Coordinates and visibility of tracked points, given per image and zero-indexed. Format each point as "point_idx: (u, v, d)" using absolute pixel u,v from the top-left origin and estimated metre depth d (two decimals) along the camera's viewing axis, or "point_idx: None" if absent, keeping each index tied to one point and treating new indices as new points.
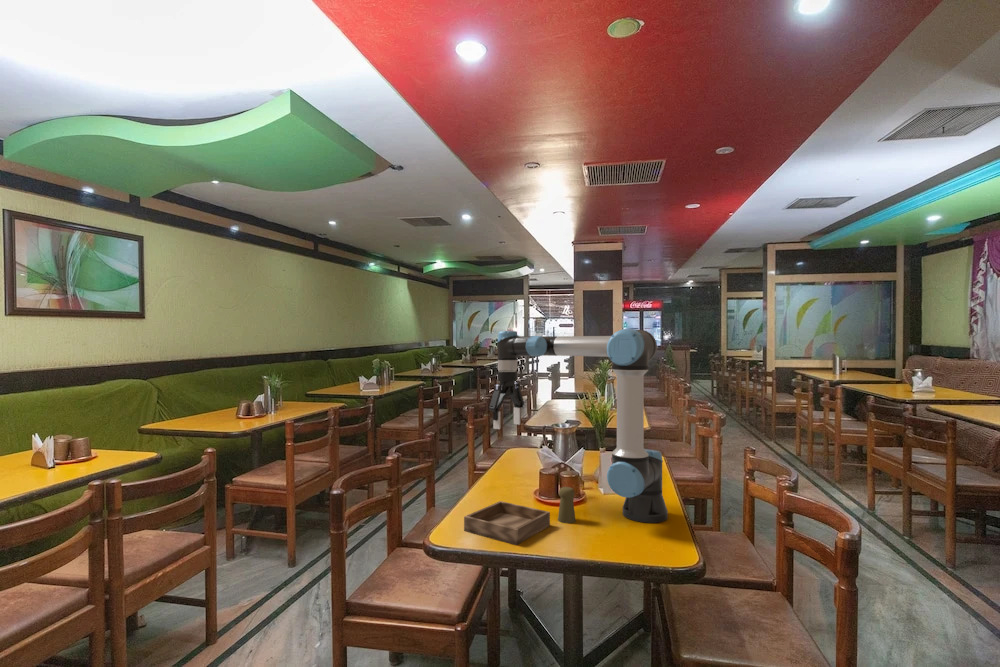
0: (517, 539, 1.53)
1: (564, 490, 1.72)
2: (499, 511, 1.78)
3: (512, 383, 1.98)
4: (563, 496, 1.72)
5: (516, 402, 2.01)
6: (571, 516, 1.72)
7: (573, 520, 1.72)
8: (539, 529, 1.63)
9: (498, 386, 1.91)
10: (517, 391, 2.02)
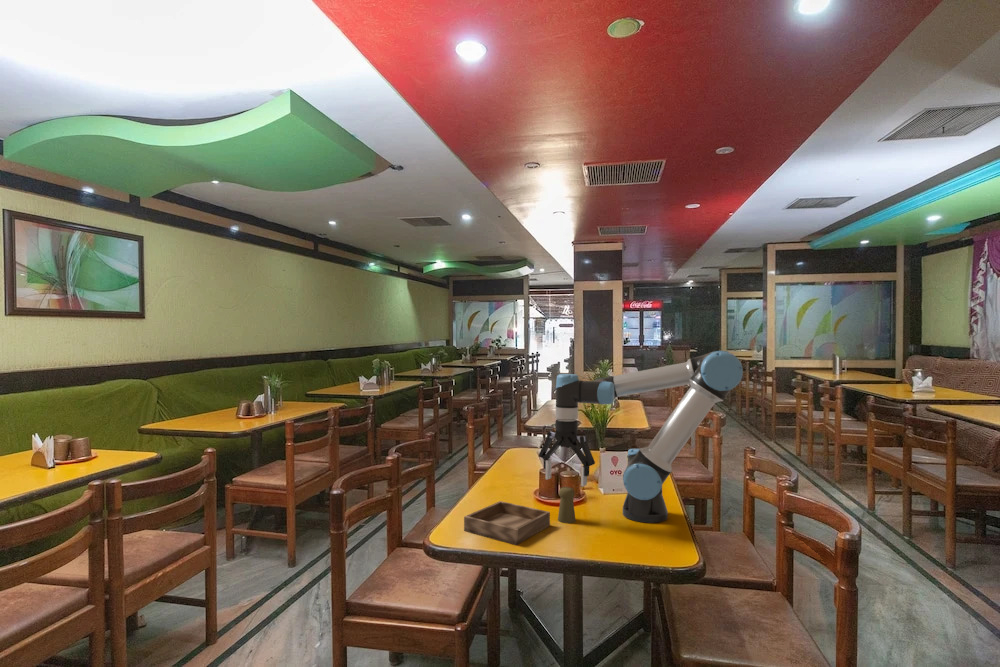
0: (517, 539, 1.53)
1: (564, 490, 1.72)
2: (499, 511, 1.78)
3: (570, 434, 1.72)
4: (563, 496, 1.72)
5: None
6: (571, 516, 1.72)
7: (573, 520, 1.72)
8: (539, 529, 1.63)
9: None
10: None
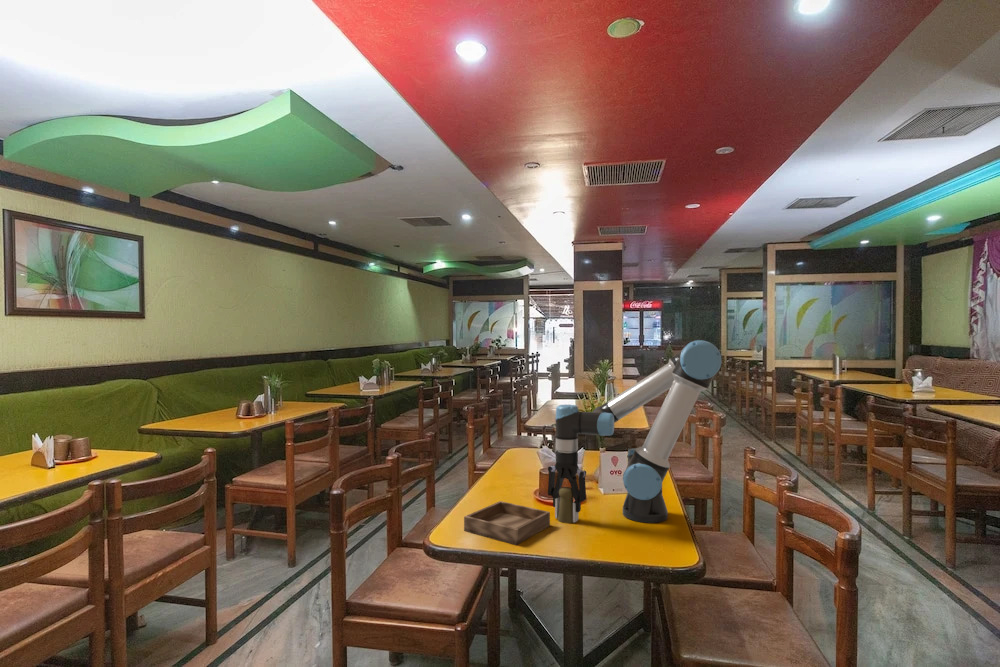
0: (517, 539, 1.53)
1: (564, 490, 1.72)
2: (499, 511, 1.78)
3: (571, 465, 1.72)
4: (563, 496, 1.72)
5: None
6: (571, 516, 1.72)
7: None
8: (539, 529, 1.63)
9: None
10: None
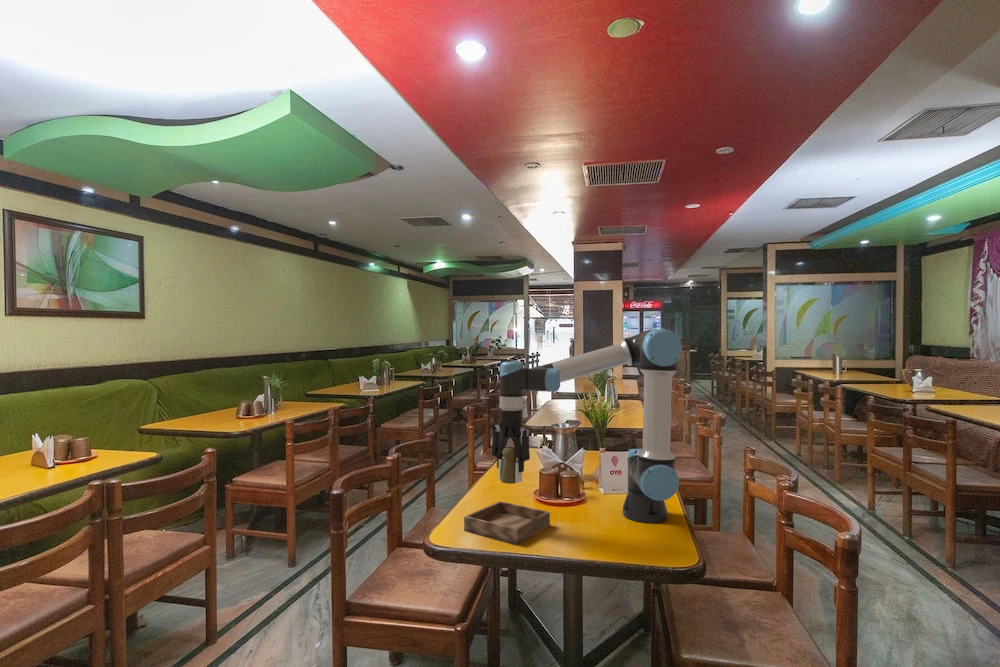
0: (517, 539, 1.53)
1: (507, 449, 1.65)
2: (499, 511, 1.78)
3: (515, 423, 1.65)
4: (506, 456, 1.65)
5: None
6: (514, 476, 1.65)
7: None
8: (539, 529, 1.63)
9: None
10: None
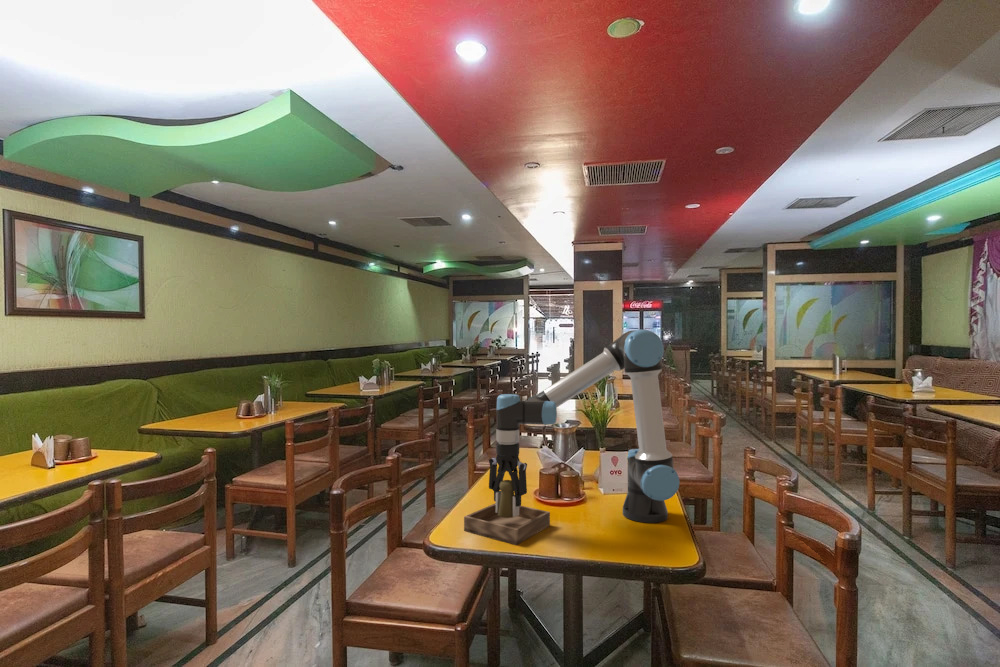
0: (517, 539, 1.53)
1: (504, 483, 1.65)
2: None
3: (512, 457, 1.64)
4: (503, 490, 1.64)
5: None
6: (511, 510, 1.64)
7: None
8: (539, 529, 1.63)
9: None
10: None
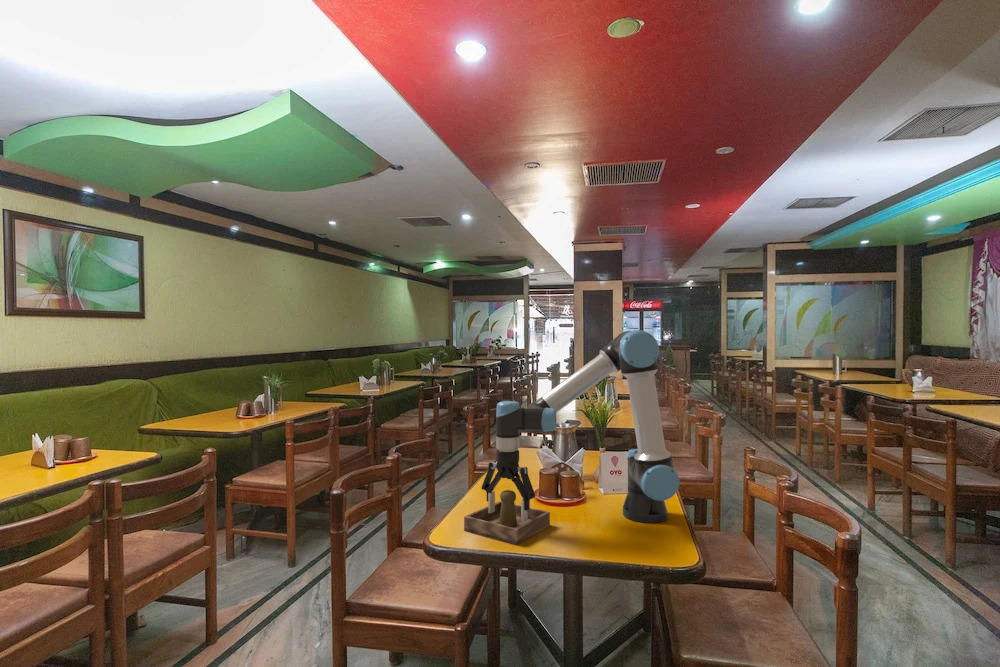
0: (517, 539, 1.53)
1: (505, 494, 1.65)
2: (499, 511, 1.78)
3: (510, 465, 1.64)
4: (503, 500, 1.64)
5: None
6: (512, 521, 1.64)
7: (514, 525, 1.64)
8: (539, 529, 1.63)
9: None
10: None
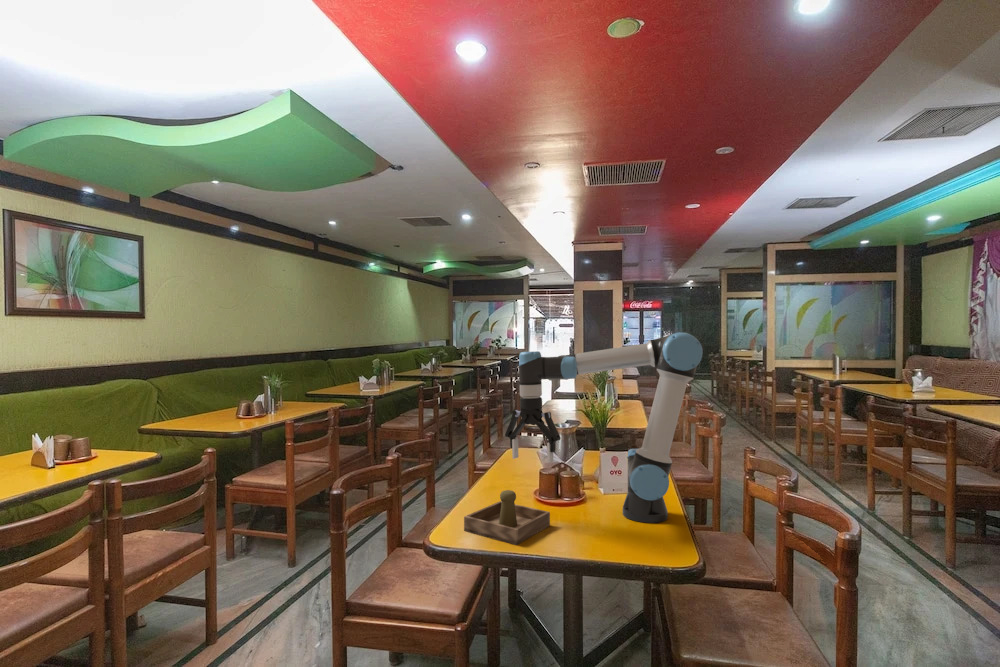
0: (517, 539, 1.53)
1: (505, 494, 1.65)
2: (499, 511, 1.78)
3: (534, 411, 1.72)
4: (503, 500, 1.64)
5: None
6: (512, 521, 1.64)
7: (514, 525, 1.64)
8: (539, 529, 1.63)
9: None
10: None
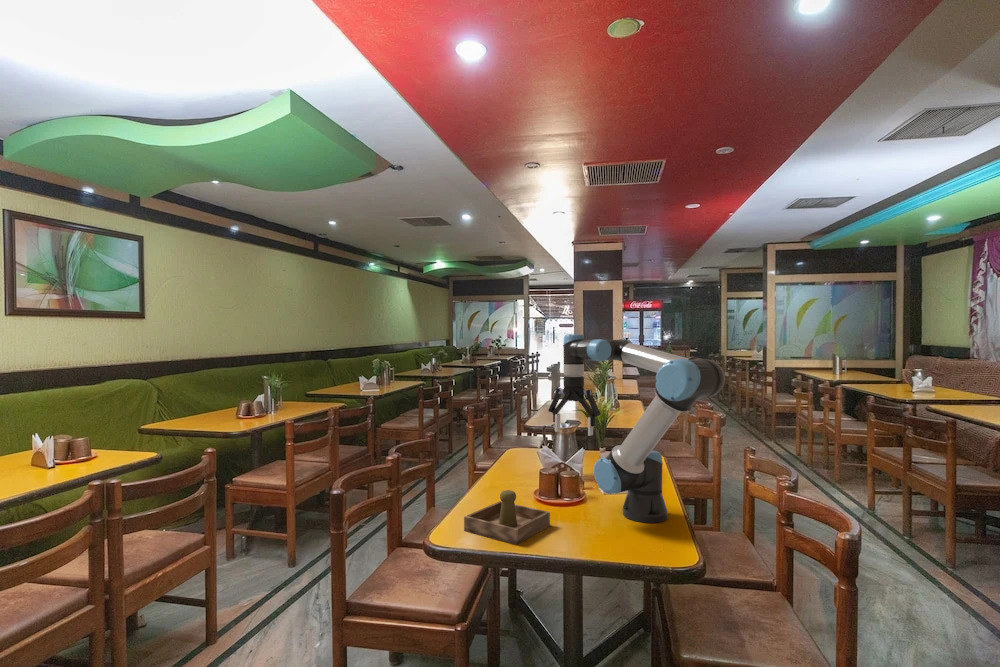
0: (517, 539, 1.53)
1: (505, 494, 1.65)
2: (499, 511, 1.78)
3: (577, 389, 1.88)
4: (503, 500, 1.64)
5: None
6: (512, 521, 1.64)
7: (514, 525, 1.64)
8: (539, 529, 1.63)
9: None
10: None
